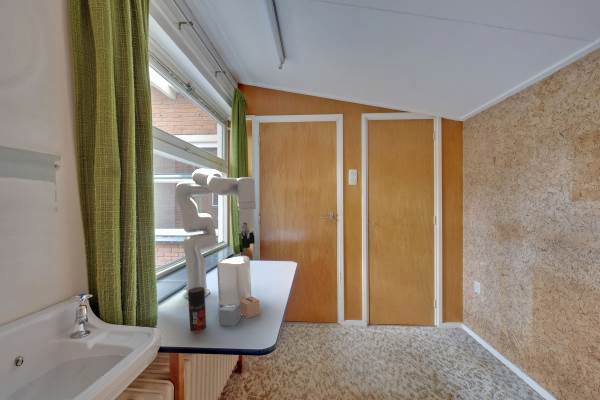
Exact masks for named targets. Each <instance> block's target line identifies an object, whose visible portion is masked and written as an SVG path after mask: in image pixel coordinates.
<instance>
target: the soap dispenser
mask: <svg viewBox="0 0 600 400" xmlns="http://www.w3.org/2000/svg"><path fill="white" fill-rule="evenodd" d="M250 261H251V259H250V257H249V256H247V255H239V256H233V257H230V258H225V259H222V260H219V261H217V262H216V266H217V267H216V269H217V273H216V274H217V290H218V291H217V292H218V305H219V306H221V307H223V306H224V305H225V304H239V305H240V300H242V299H245V298H248V297H251V296H252V281H251V280H252V279H251V278H252V277H251V262H250Z"/></svg>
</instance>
